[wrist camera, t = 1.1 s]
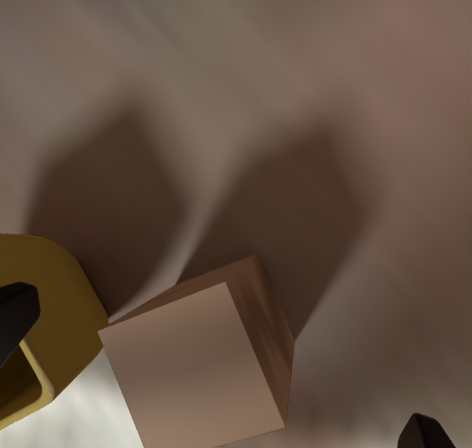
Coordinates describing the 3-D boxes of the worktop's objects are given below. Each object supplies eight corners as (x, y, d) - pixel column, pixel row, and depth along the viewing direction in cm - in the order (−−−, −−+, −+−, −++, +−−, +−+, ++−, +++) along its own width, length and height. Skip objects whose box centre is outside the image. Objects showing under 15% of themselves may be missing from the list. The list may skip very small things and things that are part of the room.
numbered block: (297, 347, 23) (290, 438, 14) (212, 375, 24) (155, 475, 15) (257, 251, 23) (225, 281, 14) (175, 284, 24) (97, 331, 15)
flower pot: (146, 331, 25) (55, 402, 16) (50, 384, 26) (-80, 474, 18) (85, 219, 25) (-37, 227, 16) (-5, 278, 27) (-159, 314, 18)
